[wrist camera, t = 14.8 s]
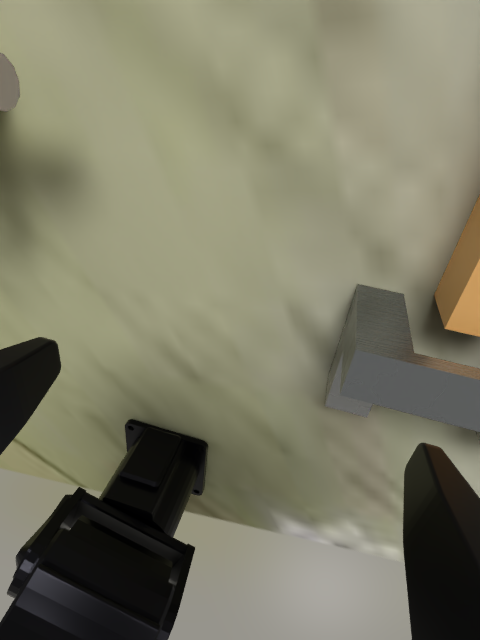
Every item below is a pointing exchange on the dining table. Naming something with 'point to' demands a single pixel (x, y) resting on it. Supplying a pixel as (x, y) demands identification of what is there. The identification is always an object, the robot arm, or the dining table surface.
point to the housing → (397, 367)
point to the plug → (462, 281)
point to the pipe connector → (8, 85)
